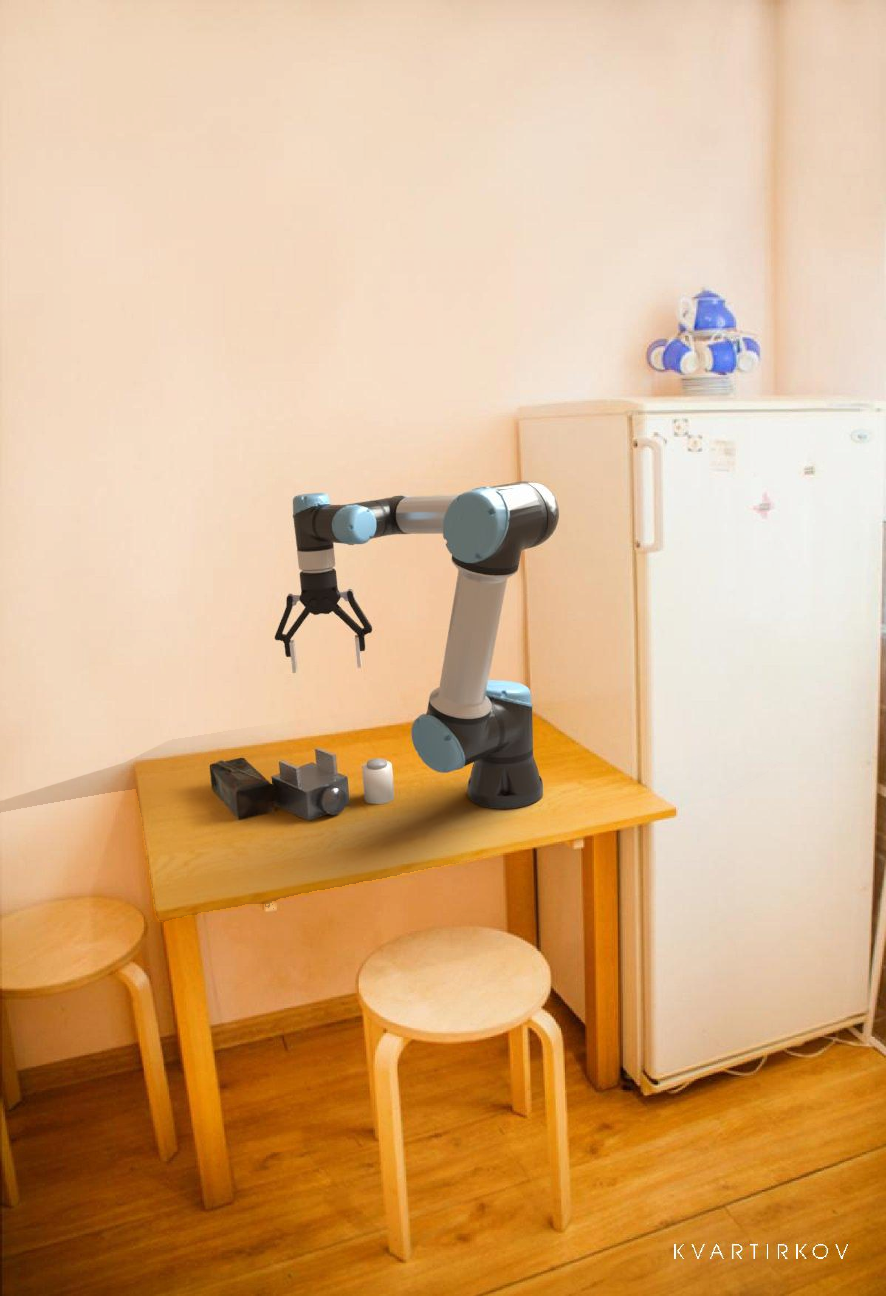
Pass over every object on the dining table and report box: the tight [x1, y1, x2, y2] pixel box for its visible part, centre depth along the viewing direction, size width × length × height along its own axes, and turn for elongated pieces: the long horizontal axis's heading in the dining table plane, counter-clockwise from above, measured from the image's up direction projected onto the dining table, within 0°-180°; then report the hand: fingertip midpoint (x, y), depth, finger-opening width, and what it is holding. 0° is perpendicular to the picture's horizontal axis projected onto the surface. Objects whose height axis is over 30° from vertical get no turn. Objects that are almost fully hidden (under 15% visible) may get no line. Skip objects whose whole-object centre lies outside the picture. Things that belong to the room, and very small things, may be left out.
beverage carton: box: [209, 757, 276, 821], centre depth 201 cm, size 8×19×7 cm, turn 29°
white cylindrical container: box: [361, 757, 395, 805], centre depth 198 cm, size 6×6×8 cm
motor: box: [270, 747, 351, 822], centre depth 196 cm, size 14×10×10 cm
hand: (327, 668), depth 208 cm, fingers open, 13 cm apart
